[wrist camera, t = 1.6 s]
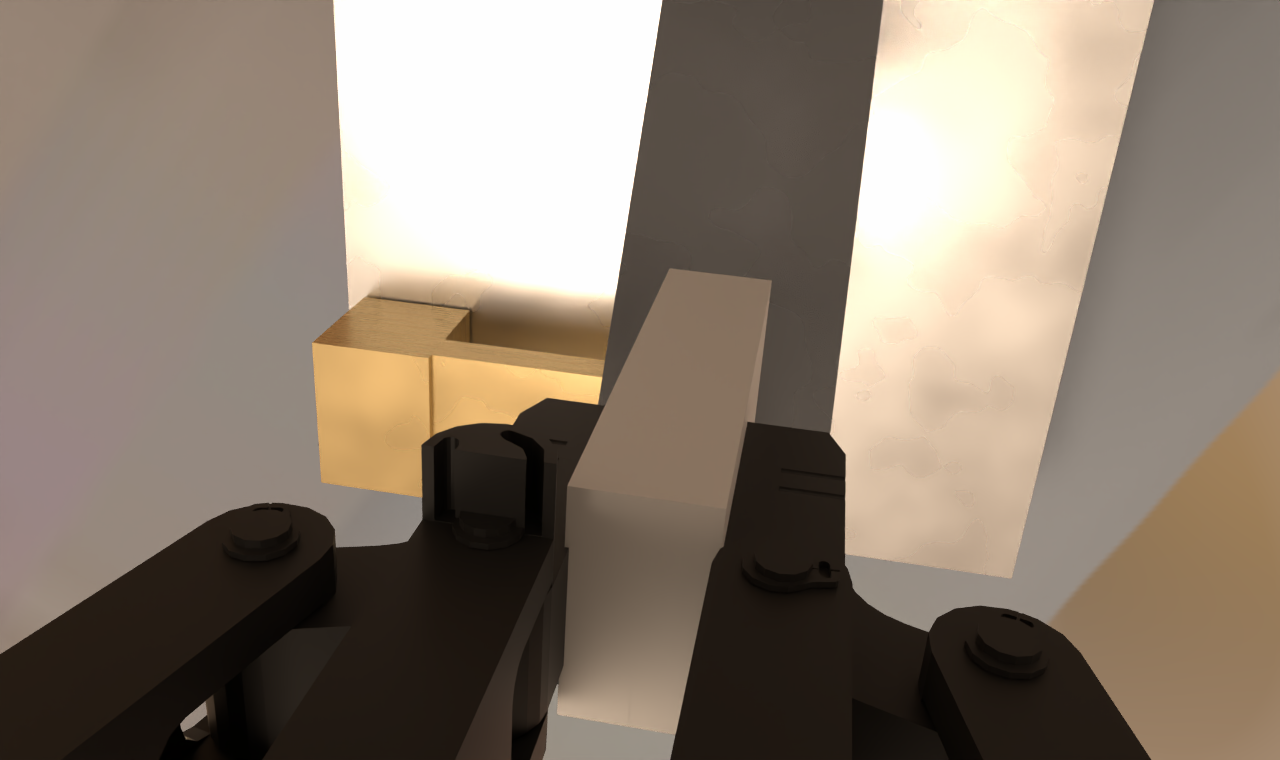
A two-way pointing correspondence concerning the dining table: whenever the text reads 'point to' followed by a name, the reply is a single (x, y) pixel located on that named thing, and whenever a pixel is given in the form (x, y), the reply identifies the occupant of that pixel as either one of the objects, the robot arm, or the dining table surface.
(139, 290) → the dining table surface
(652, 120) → the strap
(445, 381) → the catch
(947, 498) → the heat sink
